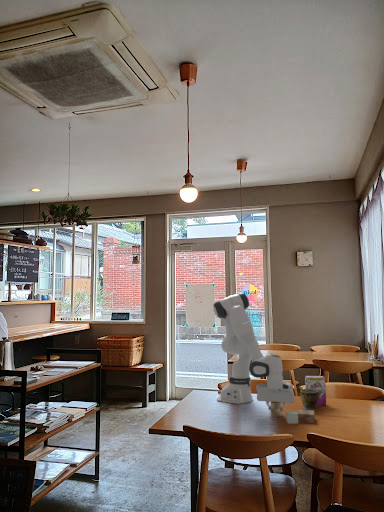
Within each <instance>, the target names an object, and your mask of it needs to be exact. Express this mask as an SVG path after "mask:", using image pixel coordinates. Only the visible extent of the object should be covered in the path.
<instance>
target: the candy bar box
mask: <svg viewBox="0 0 384 512" xmlns="http://www.w3.org/2000/svg"><path fill="white" fill-rule="evenodd" d="M304 383H305V388H304V389H313V390H317V391H318V398H317V405H316V407H319V406H320V407H326V406H327V396H326V395H327V394H326V393H327V392H326V391H327V388H326V377H325V376H324V375H322V376H320V375H305V376H304Z"/></svg>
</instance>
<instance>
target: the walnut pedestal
mask: <svg viewBox="0 0 384 512" xmlns="http://www.w3.org/2000/svg"><path fill="white" fill-rule="evenodd" d="M297 413H298V423H308V424H309V423H310V424H315V422H316V421H315V419H316V418H315V410H306V409H298V411H297Z"/></svg>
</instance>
